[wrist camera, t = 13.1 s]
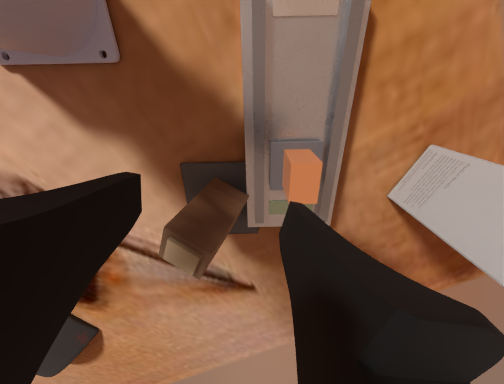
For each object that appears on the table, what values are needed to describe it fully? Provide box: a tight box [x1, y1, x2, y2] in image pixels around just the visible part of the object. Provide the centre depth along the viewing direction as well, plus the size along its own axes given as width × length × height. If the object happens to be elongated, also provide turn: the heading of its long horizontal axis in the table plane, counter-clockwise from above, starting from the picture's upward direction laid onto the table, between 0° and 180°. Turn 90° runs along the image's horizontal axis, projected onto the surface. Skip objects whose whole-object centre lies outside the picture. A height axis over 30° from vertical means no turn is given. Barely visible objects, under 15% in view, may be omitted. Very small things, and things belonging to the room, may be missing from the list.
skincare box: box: [388, 145, 504, 287], centre depth 15 cm, size 6×4×12 cm
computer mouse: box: [36, 314, 99, 377], centre depth 30 cm, size 8×14×4 cm, turn 127°
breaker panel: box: [240, 0, 371, 227], centre depth 17 cm, size 8×18×3 cm, turn 1°
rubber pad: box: [180, 162, 258, 234], centre depth 21 cm, size 7×8×1 cm
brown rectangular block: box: [159, 177, 249, 280], centre depth 17 cm, size 4×4×7 cm
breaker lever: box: [270, 141, 324, 204], centre depth 16 cm, size 4×4×4 cm
